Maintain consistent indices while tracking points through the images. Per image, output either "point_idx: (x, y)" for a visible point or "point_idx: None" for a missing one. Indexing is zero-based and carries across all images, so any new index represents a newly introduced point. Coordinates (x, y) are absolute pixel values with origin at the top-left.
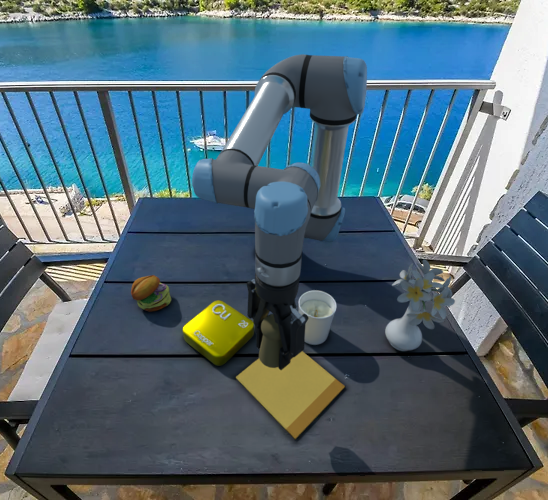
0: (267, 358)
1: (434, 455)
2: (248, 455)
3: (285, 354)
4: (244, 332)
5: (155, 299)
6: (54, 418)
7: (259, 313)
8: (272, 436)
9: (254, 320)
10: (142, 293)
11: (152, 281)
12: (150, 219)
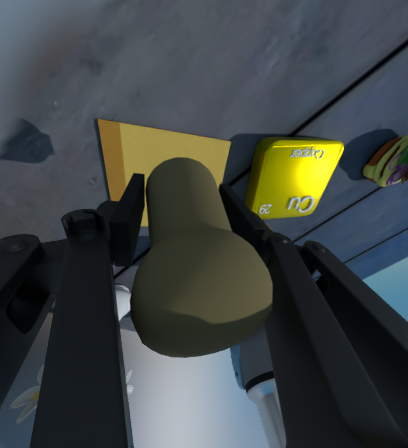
0: (175, 171)
1: None
2: (127, 29)
3: (66, 219)
4: (257, 200)
5: (401, 156)
6: None
7: (325, 329)
8: (126, 97)
9: (292, 248)
10: None
11: None
12: None
